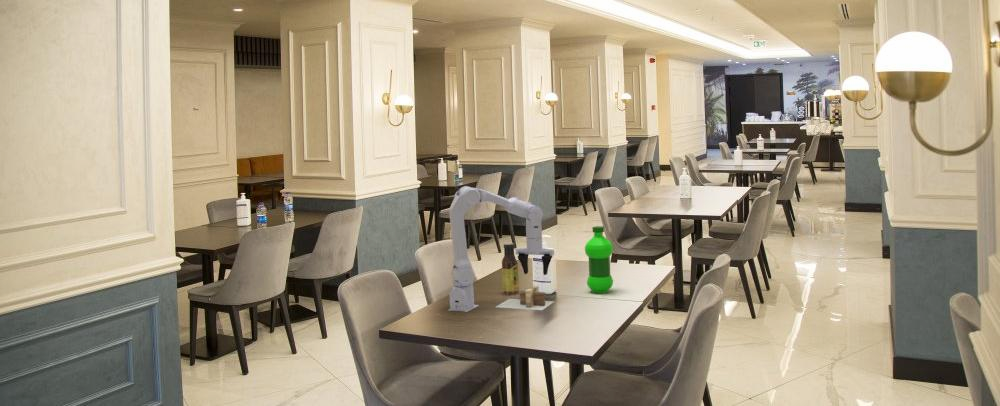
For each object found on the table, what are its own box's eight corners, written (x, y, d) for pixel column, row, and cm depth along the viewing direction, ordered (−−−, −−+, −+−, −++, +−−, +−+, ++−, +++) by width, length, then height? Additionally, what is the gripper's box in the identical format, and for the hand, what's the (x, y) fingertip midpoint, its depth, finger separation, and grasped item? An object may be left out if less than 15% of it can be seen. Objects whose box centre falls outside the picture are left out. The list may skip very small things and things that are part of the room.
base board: (542, 311, 263) (541, 310, 262) (495, 308, 270) (494, 307, 270) (554, 302, 274) (554, 301, 274) (509, 300, 282) (509, 298, 282)
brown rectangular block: (543, 306, 268) (543, 293, 268) (520, 304, 272) (519, 292, 271) (545, 304, 270) (544, 292, 269) (522, 303, 274) (521, 291, 273)
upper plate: (530, 307, 267) (530, 290, 266) (526, 307, 268) (525, 290, 267) (539, 302, 274) (538, 286, 273) (534, 301, 275) (533, 285, 274)
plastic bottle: (595, 287, 296) (593, 224, 293) (619, 290, 289) (617, 226, 286) (581, 293, 288) (579, 228, 285) (605, 296, 281) (603, 229, 278)
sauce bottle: (517, 296, 287) (515, 245, 285) (501, 296, 288) (499, 245, 286) (520, 292, 293) (518, 242, 291) (504, 292, 294) (502, 242, 292)
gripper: (556, 236, 278) (557, 272, 279) (520, 235, 284) (521, 270, 285) (549, 239, 272) (551, 276, 273) (512, 238, 278) (514, 274, 279)
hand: (535, 273), depth 279 cm, fingers open, 7 cm apart
